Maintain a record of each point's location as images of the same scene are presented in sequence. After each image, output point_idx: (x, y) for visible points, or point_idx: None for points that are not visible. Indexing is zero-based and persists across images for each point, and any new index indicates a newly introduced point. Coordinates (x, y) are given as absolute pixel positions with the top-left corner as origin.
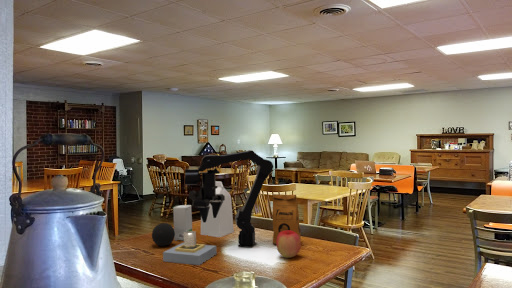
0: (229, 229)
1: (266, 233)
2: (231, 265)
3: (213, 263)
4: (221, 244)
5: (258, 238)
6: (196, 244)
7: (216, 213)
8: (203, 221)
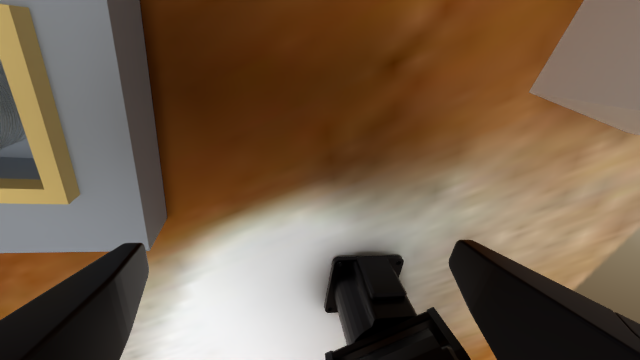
0: (629, 128)
1: None
2: None
3: (8, 265)
4: (367, 165)
5: None
6: (27, 138)
7: (487, 329)
8: (118, 254)
